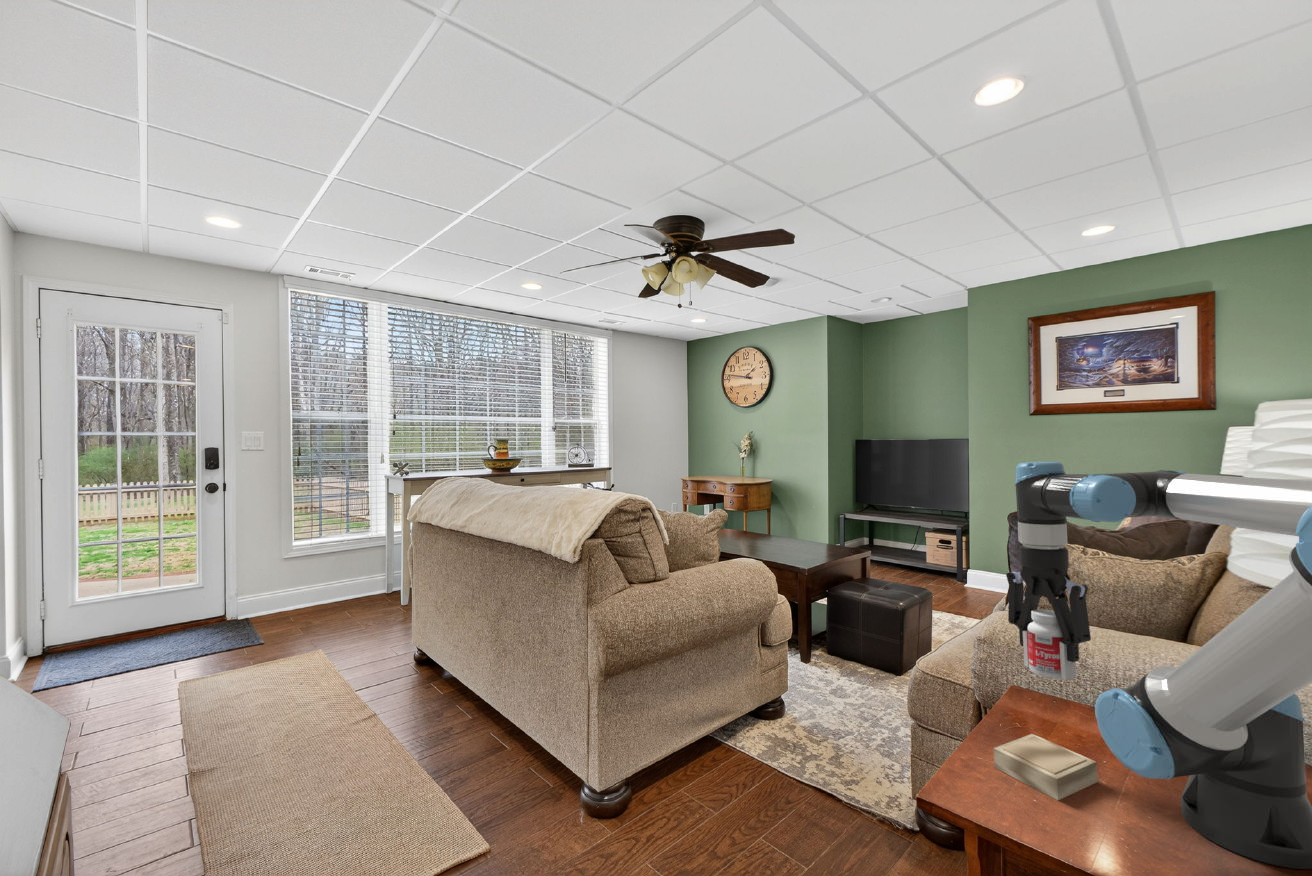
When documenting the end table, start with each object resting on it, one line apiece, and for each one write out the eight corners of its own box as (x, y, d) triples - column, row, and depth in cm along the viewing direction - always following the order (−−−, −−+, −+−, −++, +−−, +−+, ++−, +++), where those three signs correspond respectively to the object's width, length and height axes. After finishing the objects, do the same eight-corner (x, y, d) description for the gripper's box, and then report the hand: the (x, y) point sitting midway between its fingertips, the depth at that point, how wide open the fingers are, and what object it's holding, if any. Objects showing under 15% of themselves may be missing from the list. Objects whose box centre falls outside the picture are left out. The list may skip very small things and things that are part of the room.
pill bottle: (1032, 677, 103) (1029, 615, 104) (1026, 665, 109) (1023, 607, 109) (1074, 681, 101) (1071, 618, 101) (1065, 669, 106) (1062, 609, 107)
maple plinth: (1097, 782, 99) (1096, 760, 99) (1058, 800, 94) (1056, 777, 94) (1032, 752, 109) (1031, 732, 109) (994, 767, 104) (993, 747, 104)
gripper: (1113, 551, 98) (1120, 687, 97) (1009, 536, 116) (1014, 651, 115) (1084, 555, 95) (1091, 695, 95) (981, 540, 113) (987, 657, 112)
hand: (1049, 671), depth 105 cm, fingers closed on pill bottle, 6 cm apart
